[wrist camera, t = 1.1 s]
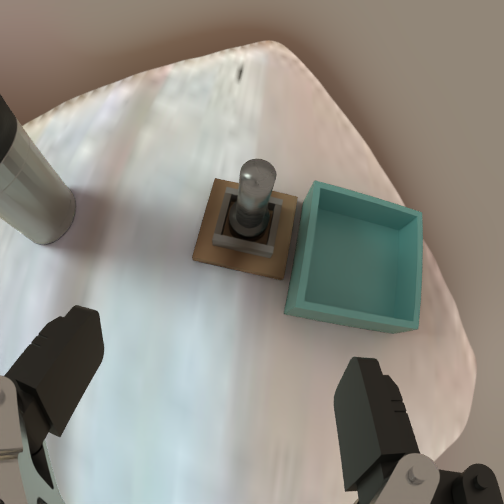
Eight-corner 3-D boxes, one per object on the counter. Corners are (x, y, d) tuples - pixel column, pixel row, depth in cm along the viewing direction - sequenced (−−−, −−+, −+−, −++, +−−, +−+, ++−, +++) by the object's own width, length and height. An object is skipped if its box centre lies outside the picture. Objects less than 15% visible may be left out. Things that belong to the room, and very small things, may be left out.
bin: (283, 313, 37) (295, 306, 32) (302, 202, 42) (314, 180, 36) (393, 333, 38) (418, 329, 32) (400, 229, 43) (422, 212, 37)
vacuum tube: (224, 238, 38) (226, 189, 27) (233, 204, 40) (238, 148, 28) (262, 246, 38) (279, 201, 27) (269, 212, 40) (287, 159, 29)
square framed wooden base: (192, 260, 38) (190, 252, 35) (215, 182, 42) (214, 170, 39) (281, 280, 39) (287, 273, 36) (295, 200, 42) (301, 189, 39)
